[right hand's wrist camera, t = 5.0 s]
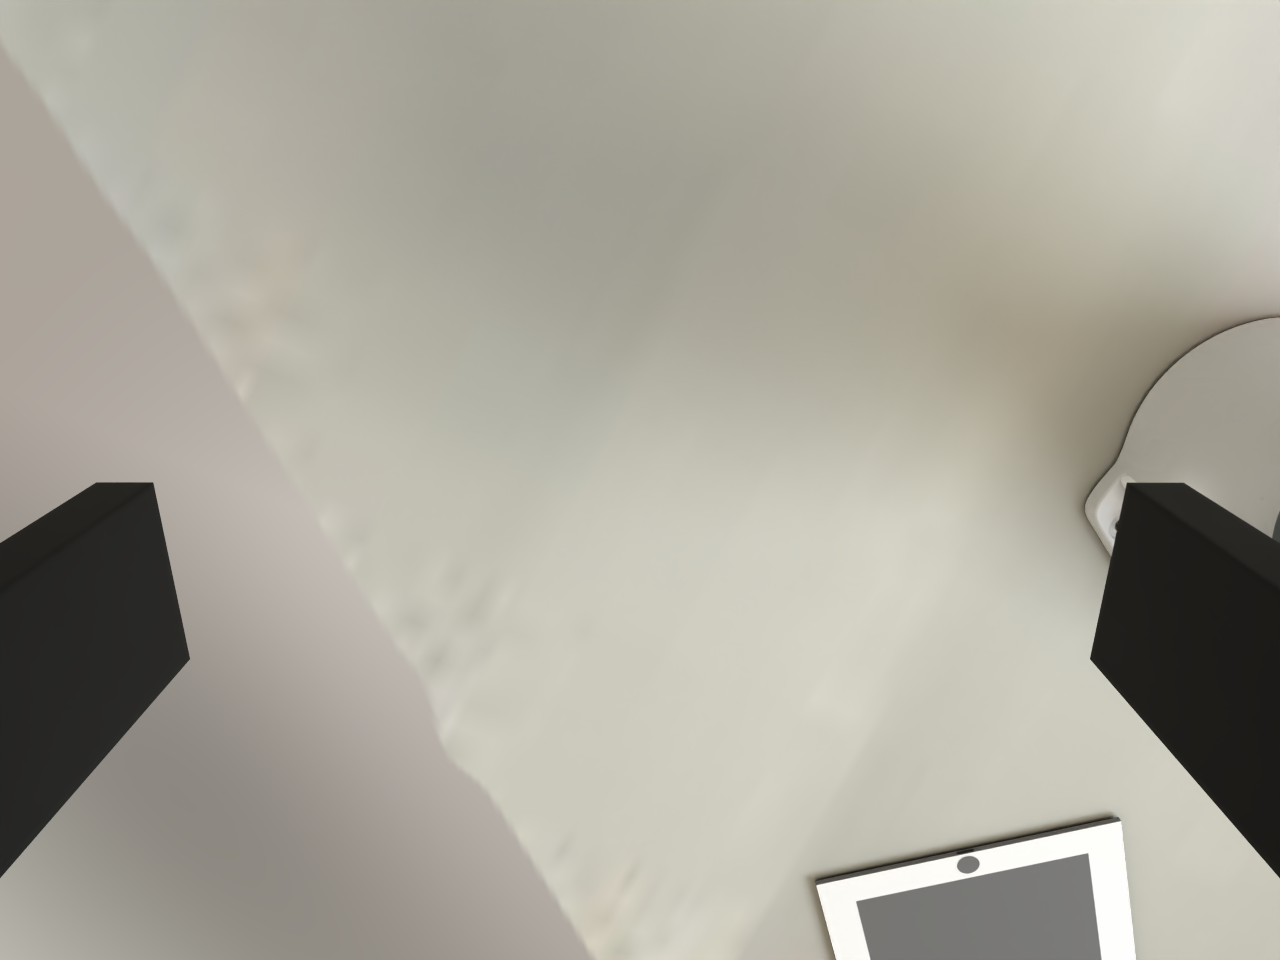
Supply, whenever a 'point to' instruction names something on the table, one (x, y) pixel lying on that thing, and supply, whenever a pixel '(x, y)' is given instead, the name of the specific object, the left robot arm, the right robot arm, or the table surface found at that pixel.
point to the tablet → (991, 902)
